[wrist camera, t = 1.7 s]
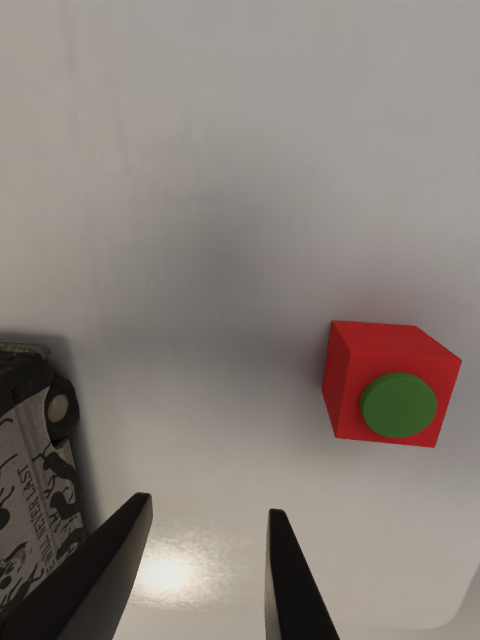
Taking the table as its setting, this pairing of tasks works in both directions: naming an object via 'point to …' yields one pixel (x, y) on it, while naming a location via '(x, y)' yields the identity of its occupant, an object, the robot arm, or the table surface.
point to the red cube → (387, 383)
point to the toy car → (35, 472)
